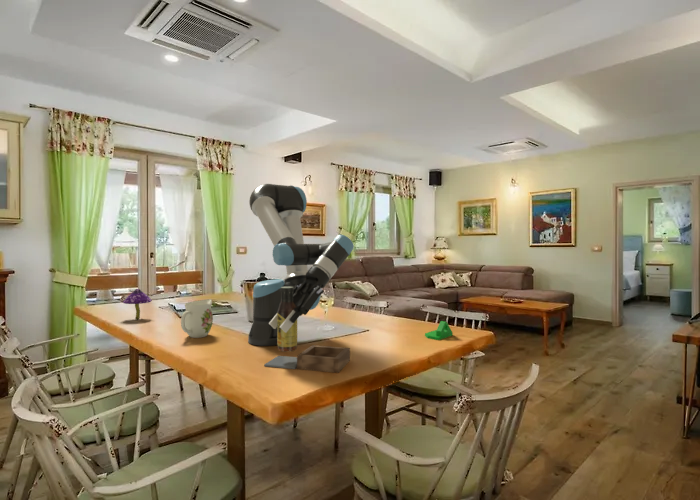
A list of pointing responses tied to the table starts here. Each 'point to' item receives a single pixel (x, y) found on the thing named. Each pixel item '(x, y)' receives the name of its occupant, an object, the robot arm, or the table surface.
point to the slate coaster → (283, 362)
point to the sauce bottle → (286, 306)
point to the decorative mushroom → (137, 300)
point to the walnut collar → (323, 358)
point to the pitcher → (197, 318)
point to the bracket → (440, 332)
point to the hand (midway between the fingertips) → (277, 327)
